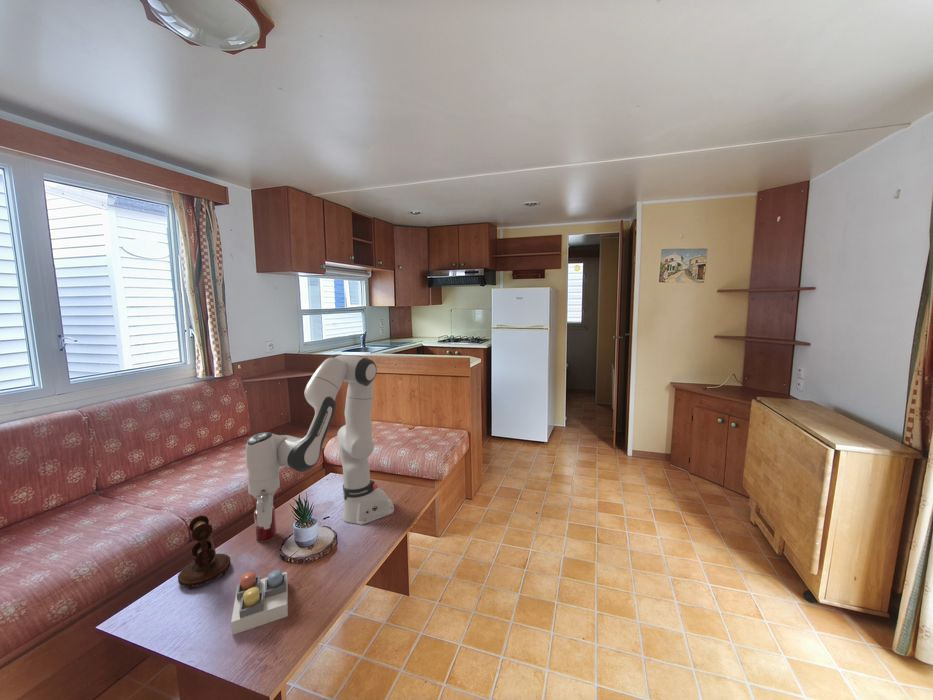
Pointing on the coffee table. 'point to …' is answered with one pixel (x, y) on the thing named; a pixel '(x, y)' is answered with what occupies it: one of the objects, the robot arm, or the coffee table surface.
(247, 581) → the brick button
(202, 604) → the coffee table surface
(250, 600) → the ochre button
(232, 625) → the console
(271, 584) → the slate button
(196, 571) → the brown spool stand
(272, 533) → the soda can
